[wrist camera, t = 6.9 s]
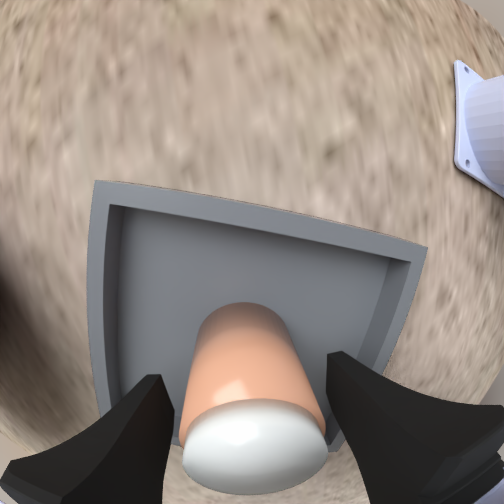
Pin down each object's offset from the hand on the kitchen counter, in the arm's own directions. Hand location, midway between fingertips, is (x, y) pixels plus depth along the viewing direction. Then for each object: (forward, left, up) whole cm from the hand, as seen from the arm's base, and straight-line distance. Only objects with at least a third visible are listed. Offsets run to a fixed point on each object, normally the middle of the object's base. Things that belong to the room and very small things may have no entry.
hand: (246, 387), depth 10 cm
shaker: (0, 0, -3) cm, 3 cm away
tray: (0, 0, -4) cm, 4 cm away
